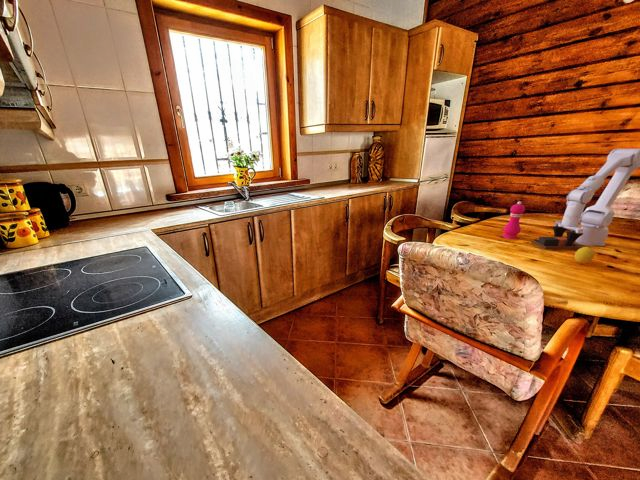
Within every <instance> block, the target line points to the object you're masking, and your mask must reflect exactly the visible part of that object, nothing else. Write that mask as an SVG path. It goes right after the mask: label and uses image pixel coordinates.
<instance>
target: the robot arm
mask: <svg viewBox="0 0 640 480" xmlns="http://www.w3.org/2000/svg"><path fill="white" fill-rule="evenodd" d="M638 169H640V148H619V147H618V148H614V149H612V150H611V151H610V152H609V154H608V155H607V157H606V162H605V163H604V164H603V165H602V166H601V167H600V169H599V170H598V171H597V172H596V173H595V174H594V175H591V176H588V177H587V178H586V179H585V181H583V182H582V183H581V185H579V186H578V187H577V188H575V189H572V190H571V191H569V192H568V194H567V195H566V202H565V203H566V204H565V205H566V208H565V211H564V214H563V217H562V220H555V223H554V225H553V226H552V230H553V234H554V235H553V237H564V236H563V235H564V234H565V232H566V237H567V239H566V243H565V246H572V244H573V243H576V244H578V245H581V246H594V247H595V246H596V247H604V246H606V244H605V243H606V241H607V238H608V236H609V233H610V231H609V228H608V227H609V226H610V224H611V223H612V222H613V220H614V216H615V214H616V212H615V211H614V210H613V209H612V208H611V207H612V205H613V204H614V202H616V201H615V200H616V199H617V197H618V196H619V194H620V193H621V192H622V190H623V188H624V187H625V185H626V183H627V182H628V181H629V179H630V177H631V176H632V174H633V173H634V171H637V170H638ZM613 172H614V174H613V176H612V177H611V179H610V180H609V182H608V184H607V185H606V187H605V188H604V190H603V191H602V193H601V195H600V196H599V198H598V199H597V201H596V203H595V204H594V205H591V206H588V207H586V204H587V203H589V202H590V201H591V200H592V198H593V197H594V196H595V192H596V191H597V190H598V189H599V188H600V187H601V186H602V185H604V184H605V179H606V178H607V177H608V176H610V175H611V174H612V173H613ZM584 209H585V210H584ZM579 223H580V226H581V227H580V226H579Z"/></svg>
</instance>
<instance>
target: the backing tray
mask: <svg viewBox="0 0 640 480" xmlns="http://www.w3.org/2000/svg"><path fill="white" fill-rule="evenodd" d="M538 240H539V239H532V240H531V242H530V243H531V244H533V245H535V246H537V247H539V248H541V249H542V250H549V251H551V250H552V251H553V250H554V251H557V250H558V251H577V250H578V249H580V248H583V245H580V244H578V243H576V242H574V243H573V246H545V245H543V244H541V243H539V242H538Z"/></svg>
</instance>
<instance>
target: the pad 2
mask: <svg viewBox="0 0 640 480" xmlns="http://www.w3.org/2000/svg"><path fill="white" fill-rule="evenodd" d="M553 237H554V236H553ZM554 238H557V239H559V243H558V246H565V243H566V239H567V236H562V237H554ZM572 246H573V244H572Z"/></svg>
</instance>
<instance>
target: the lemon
mask: <svg viewBox="0 0 640 480" xmlns="http://www.w3.org/2000/svg"><path fill="white" fill-rule="evenodd" d="M594 258H595V251H594V249H592V248H591V247H590V246H582V248H580V249H578V250H576V251H575V253H574V258H573V259H574V261H575V262H576V263H578V264H579V265H581V266H582V265H586V264H589V263H591V262H592V261H593V260H594Z"/></svg>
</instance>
